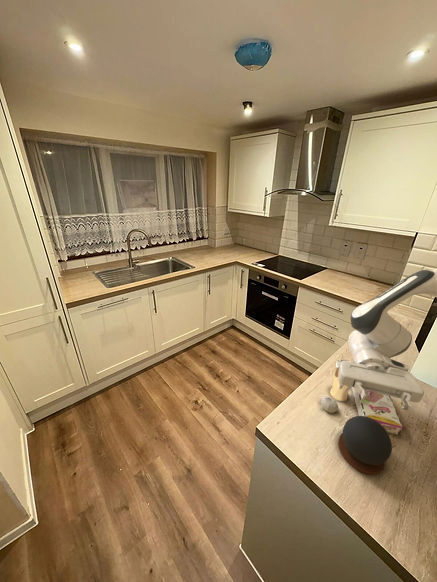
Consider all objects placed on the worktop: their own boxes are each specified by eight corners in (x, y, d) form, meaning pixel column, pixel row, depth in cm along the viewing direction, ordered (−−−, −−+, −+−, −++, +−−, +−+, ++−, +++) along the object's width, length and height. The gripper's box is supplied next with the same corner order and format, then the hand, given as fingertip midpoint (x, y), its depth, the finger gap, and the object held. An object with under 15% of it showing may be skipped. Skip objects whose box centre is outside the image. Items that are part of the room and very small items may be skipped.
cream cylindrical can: (324, 394, 90) (334, 364, 83) (333, 385, 94) (343, 356, 87) (343, 407, 85) (354, 376, 78) (351, 397, 89) (363, 367, 83)
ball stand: (375, 441, 74) (389, 413, 68) (388, 483, 64) (406, 454, 58) (334, 429, 77) (345, 402, 72) (340, 468, 67) (353, 439, 61)
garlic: (316, 408, 84) (319, 398, 82) (321, 399, 88) (324, 389, 86) (333, 419, 81) (337, 408, 78) (338, 408, 84) (342, 398, 82)
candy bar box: (387, 387, 88) (404, 427, 73) (382, 396, 90) (398, 437, 76) (354, 379, 90) (364, 416, 76) (350, 388, 93) (360, 426, 78)
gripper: (337, 350, 73) (344, 383, 61) (413, 366, 68) (438, 405, 56) (332, 366, 76) (338, 400, 64) (405, 382, 70) (427, 423, 58)
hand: (386, 403), depth 60 cm, fingers open, 8 cm apart
